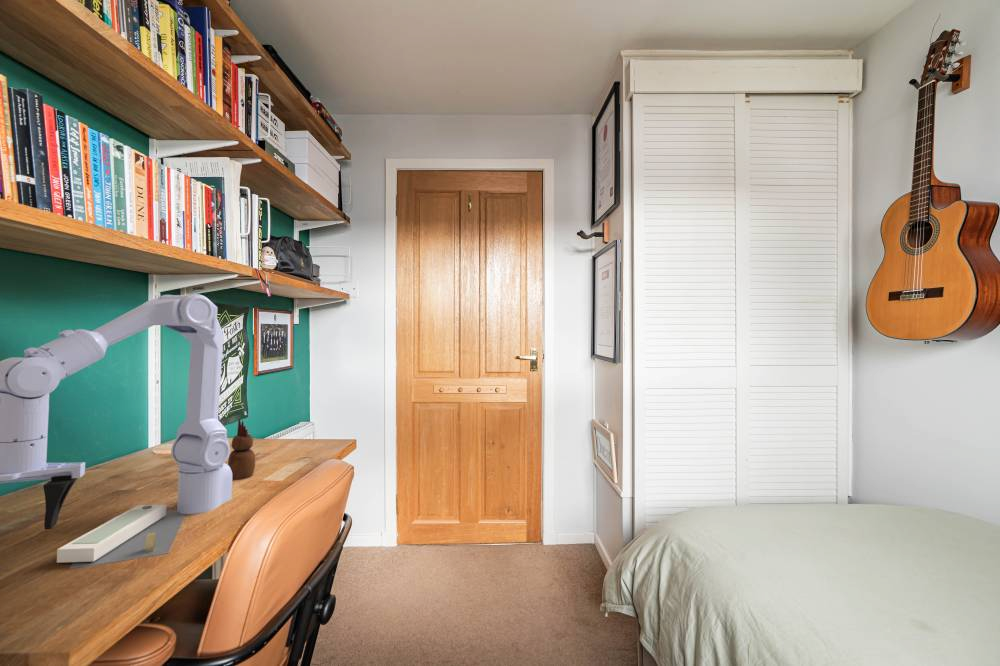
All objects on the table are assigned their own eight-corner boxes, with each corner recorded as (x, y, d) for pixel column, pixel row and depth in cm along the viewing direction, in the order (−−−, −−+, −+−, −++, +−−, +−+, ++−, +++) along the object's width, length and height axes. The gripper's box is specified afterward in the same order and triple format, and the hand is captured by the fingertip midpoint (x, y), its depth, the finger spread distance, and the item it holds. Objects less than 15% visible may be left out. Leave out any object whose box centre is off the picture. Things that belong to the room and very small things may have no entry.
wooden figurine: (226, 478, 113) (228, 418, 113) (252, 474, 116) (254, 416, 116) (229, 485, 107) (231, 422, 108) (256, 481, 111) (258, 420, 111)
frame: (137, 515, 85) (137, 504, 85) (165, 515, 86) (166, 503, 86) (56, 562, 67) (57, 547, 67) (93, 561, 68) (94, 546, 68)
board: (111, 522, 85) (112, 504, 85) (188, 513, 90) (188, 495, 91) (67, 575, 66) (68, 552, 66) (167, 559, 72) (168, 537, 72)
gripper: (-70, 448, 60) (-76, 551, 59) (74, 440, 66) (70, 533, 66) (-38, 437, 66) (-43, 531, 66) (91, 431, 73) (87, 516, 72)
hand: (15, 531), depth 66 cm, fingers open, 7 cm apart
